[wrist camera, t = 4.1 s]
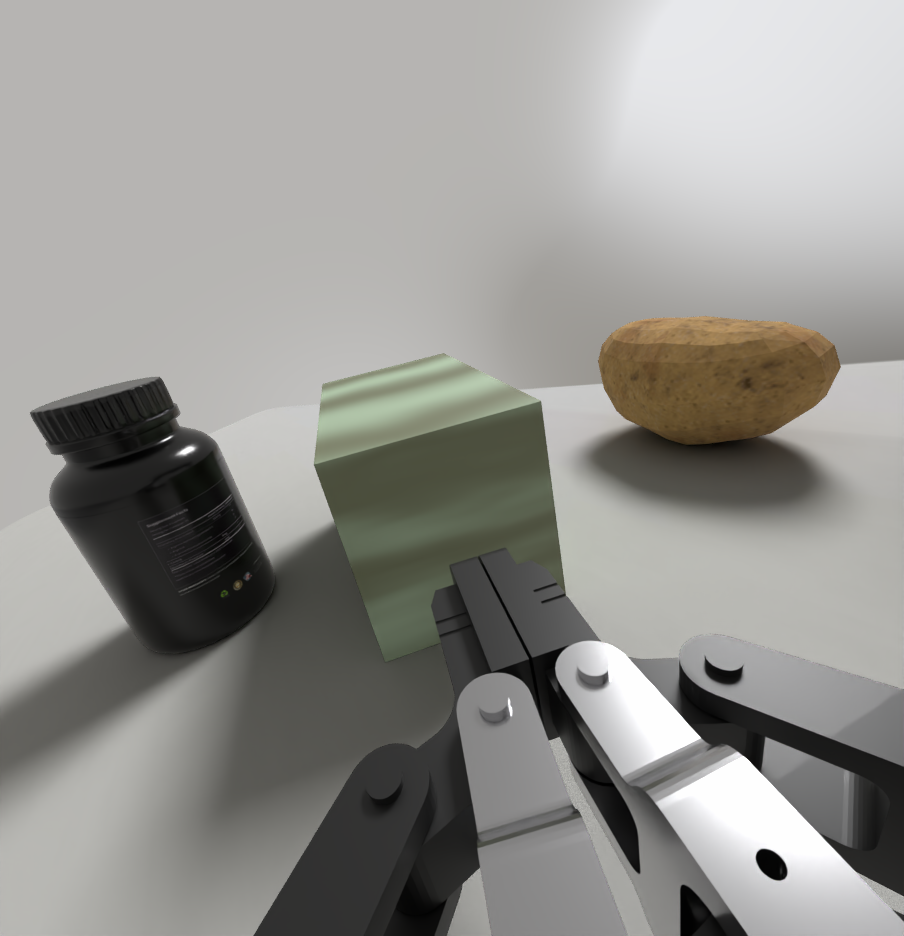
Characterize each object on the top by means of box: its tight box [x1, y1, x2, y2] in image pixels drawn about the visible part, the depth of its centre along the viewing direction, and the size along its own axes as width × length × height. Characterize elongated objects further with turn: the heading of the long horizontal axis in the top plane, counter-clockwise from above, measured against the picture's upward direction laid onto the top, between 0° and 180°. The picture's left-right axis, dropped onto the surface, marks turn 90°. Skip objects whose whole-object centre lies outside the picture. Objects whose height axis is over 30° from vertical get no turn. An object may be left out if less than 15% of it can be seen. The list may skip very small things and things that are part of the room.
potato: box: [598, 316, 841, 445], centre depth 29 cm, size 10×14×8 cm
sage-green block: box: [314, 353, 566, 662], centre depth 24 cm, size 15×8×9 cm, turn 14°
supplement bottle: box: [30, 377, 275, 654], centre depth 21 cm, size 7×7×12 cm
